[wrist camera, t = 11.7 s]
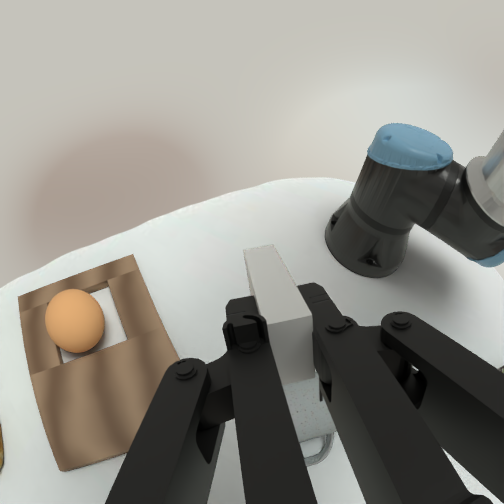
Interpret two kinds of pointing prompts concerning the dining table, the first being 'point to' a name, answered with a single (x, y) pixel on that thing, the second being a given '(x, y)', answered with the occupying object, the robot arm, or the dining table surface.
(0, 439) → the pastry
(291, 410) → the ceramic mug
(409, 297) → the dining table surface
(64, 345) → the ball
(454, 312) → the dining table surface
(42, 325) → the hole board
